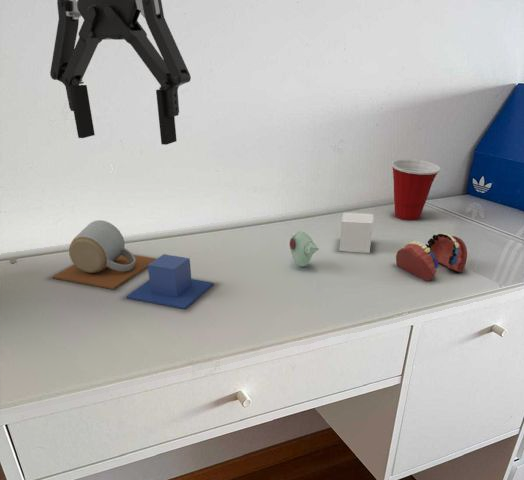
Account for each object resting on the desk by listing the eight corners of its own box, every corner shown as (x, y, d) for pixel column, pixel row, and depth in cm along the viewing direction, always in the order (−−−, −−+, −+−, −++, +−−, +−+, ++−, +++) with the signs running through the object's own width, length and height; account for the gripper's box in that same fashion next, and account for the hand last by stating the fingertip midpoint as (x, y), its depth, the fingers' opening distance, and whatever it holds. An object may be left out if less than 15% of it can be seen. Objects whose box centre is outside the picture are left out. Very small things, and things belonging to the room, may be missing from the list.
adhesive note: (341, 240, 108) (343, 212, 105) (370, 242, 107) (373, 214, 104) (339, 251, 103) (341, 221, 100) (369, 253, 102) (372, 223, 99)
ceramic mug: (69, 274, 92) (61, 233, 88) (89, 257, 99) (83, 218, 95) (126, 279, 91) (120, 237, 87) (142, 261, 98) (138, 221, 94)
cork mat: (53, 278, 92) (52, 276, 92) (101, 251, 103) (101, 249, 103) (113, 289, 88) (113, 287, 88) (157, 260, 99) (157, 258, 99)
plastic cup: (414, 227, 115) (423, 171, 109) (375, 216, 122) (381, 163, 115) (441, 217, 121) (450, 163, 115) (402, 207, 128) (409, 156, 122)
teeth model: (393, 234, 92) (443, 224, 97) (387, 267, 95) (436, 256, 100) (426, 251, 86) (477, 239, 91) (419, 285, 89) (469, 272, 94)
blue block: (151, 292, 86) (147, 264, 83) (166, 281, 90) (163, 254, 87) (177, 297, 84) (174, 269, 82) (192, 285, 88) (189, 258, 86)
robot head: (321, 272, 94) (323, 236, 90) (301, 276, 92) (302, 240, 89) (299, 257, 100) (300, 223, 96) (280, 261, 98) (281, 226, 95)
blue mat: (126, 298, 85) (126, 296, 85) (158, 275, 93) (158, 273, 93) (185, 309, 82) (185, 307, 81) (213, 284, 89) (213, 282, 89)
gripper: (210, -55, 60) (219, 140, 71) (40, -44, 68) (72, 130, 79) (177, -64, 54) (192, 150, 65) (-5, -51, 62) (36, 138, 73)
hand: (126, 139), depth 72 cm, fingers open, 13 cm apart
